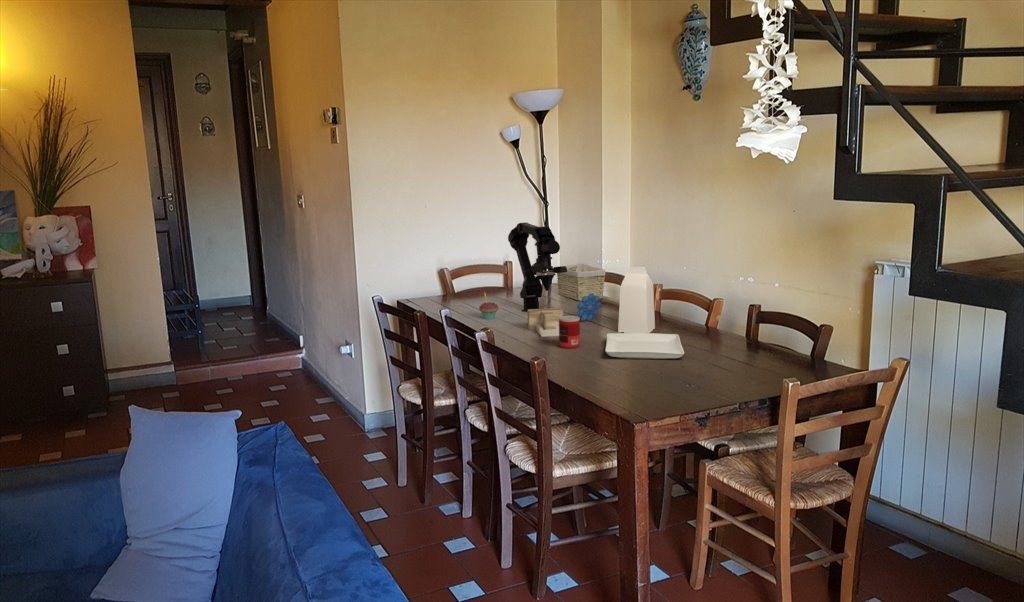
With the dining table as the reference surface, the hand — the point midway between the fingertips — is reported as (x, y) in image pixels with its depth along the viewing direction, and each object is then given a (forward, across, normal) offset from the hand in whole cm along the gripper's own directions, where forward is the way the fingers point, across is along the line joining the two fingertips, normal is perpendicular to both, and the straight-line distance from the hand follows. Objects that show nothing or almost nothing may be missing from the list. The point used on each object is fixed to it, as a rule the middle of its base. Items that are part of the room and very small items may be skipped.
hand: (547, 290), depth 332 cm
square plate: (+24, +55, -34) cm, 69 cm away
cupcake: (+10, -25, -10) cm, 29 cm away
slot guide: (+16, +12, -24) cm, 31 cm away
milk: (+19, +42, -5) cm, 46 cm away
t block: (+16, +10, -22) cm, 29 cm away
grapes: (+14, +17, +3) cm, 22 cm away
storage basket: (+6, -9, +51) cm, 52 cm away
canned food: (+20, +28, -40) cm, 53 cm away
